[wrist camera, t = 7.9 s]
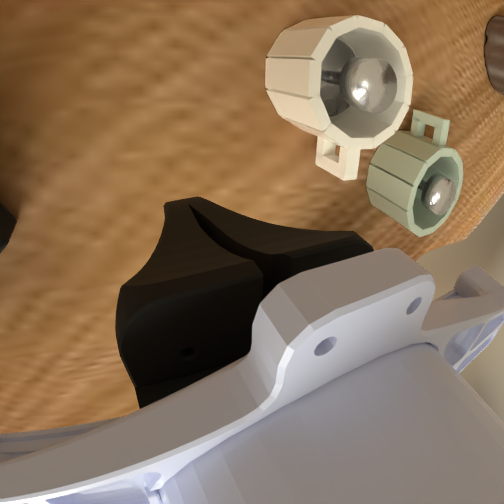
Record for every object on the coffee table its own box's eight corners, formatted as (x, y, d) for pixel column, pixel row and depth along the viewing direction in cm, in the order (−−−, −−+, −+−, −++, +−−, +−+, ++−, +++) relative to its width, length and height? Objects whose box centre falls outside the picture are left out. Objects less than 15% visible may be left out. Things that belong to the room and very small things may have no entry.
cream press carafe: (266, 14, 17) (311, 4, 13) (365, 31, 20) (416, 33, 16) (263, 164, 24) (301, 191, 20) (354, 156, 27) (398, 178, 23)
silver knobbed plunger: (287, 31, 18) (340, 28, 14) (357, 42, 20) (413, 47, 16) (284, 116, 22) (333, 134, 17) (352, 116, 24) (404, 134, 19)
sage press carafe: (415, 205, 34) (449, 227, 30) (360, 216, 31) (397, 244, 27) (433, 110, 28) (474, 125, 23) (376, 103, 25) (424, 118, 20)
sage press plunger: (414, 198, 32) (453, 222, 28) (375, 205, 30) (416, 234, 26) (425, 144, 29) (468, 164, 24) (386, 144, 27) (433, 166, 22)
